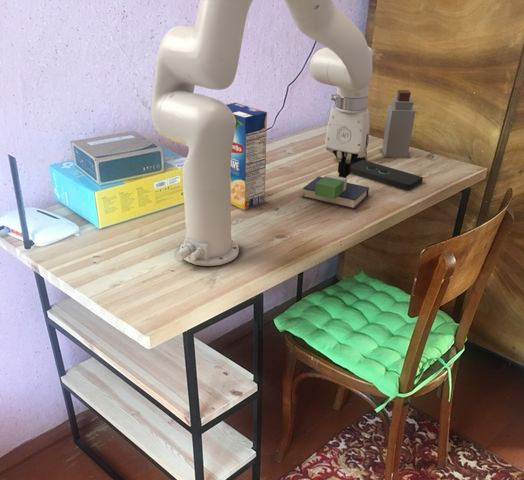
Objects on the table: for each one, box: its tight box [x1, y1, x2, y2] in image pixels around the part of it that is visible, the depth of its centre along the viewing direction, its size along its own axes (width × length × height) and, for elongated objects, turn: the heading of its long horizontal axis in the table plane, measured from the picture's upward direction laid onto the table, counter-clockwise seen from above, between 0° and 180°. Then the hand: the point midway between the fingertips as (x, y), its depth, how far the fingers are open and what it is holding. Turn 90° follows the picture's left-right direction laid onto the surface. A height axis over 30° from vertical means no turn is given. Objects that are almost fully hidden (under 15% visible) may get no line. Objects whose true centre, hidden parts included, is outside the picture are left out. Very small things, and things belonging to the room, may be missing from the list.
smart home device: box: [350, 159, 424, 191], centre depth 163 cm, size 8×2×20 cm
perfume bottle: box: [381, 89, 416, 159], centre depth 175 cm, size 7×7×18 cm
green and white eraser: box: [315, 174, 348, 199], centre depth 147 cm, size 7×5×3 cm
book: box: [302, 175, 370, 210], centre depth 151 cm, size 9×14×3 cm, turn 61°
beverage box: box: [226, 102, 268, 211], centre depth 142 cm, size 7×11×22 cm, turn 44°
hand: (343, 176), depth 152 cm, fingers closed
